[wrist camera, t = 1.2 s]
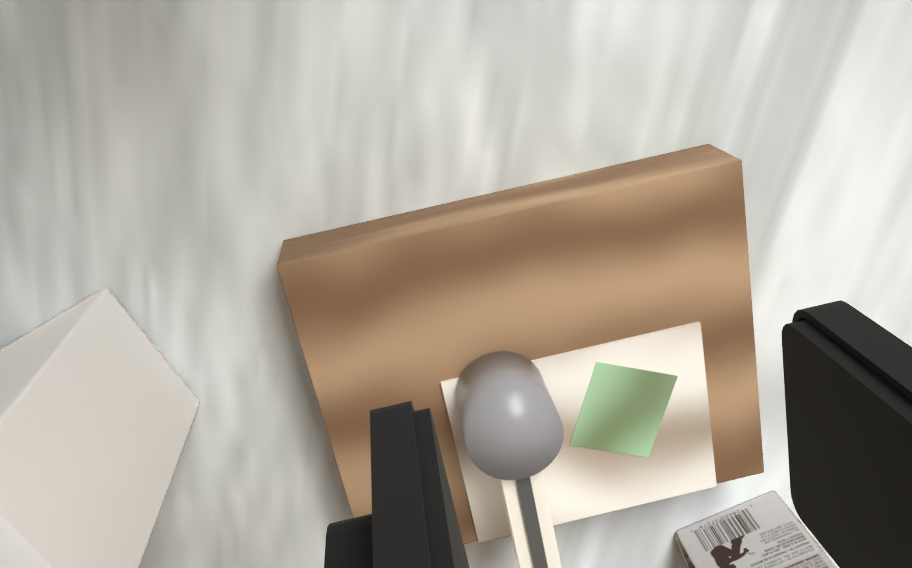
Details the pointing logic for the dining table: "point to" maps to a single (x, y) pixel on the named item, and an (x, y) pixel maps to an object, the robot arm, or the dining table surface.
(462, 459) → the board
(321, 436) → the dining table surface
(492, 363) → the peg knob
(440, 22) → the dining table surface
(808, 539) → the coffee box
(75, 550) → the milk carton
